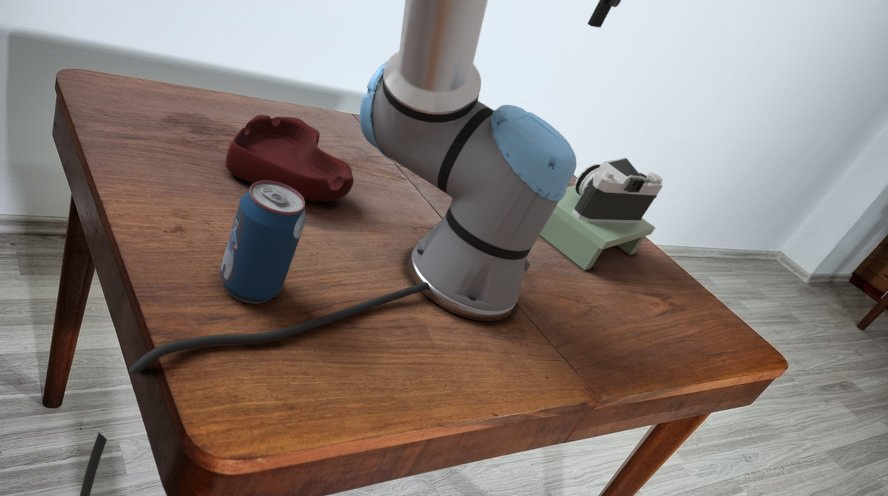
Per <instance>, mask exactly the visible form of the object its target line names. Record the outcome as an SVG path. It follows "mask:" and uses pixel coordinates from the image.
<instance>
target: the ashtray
mask: <svg viewBox="0 0 888 496" xmlns="http://www.w3.org/2000/svg"><path fill="white" fill-rule="evenodd" d="M320 135H321V133H320V130H318V129H316V128H315V127H313V126H311V125H309V124H307V122H305V121H304V120H303V119H301V118H298V117H293V116H275V117H271V116H270V115H269V114H268V115H266V114H259V115H258V114H257V115H255V116H254V117H253V118H251V119H250V120H249V121H248V122H247V123H246V124H245V126H244V127H241V129H240V130H239V131H238V132H237V133H236V134H235V135H234V137H233V139H232V140H231V141H230V144H229V145H228V148H227V152H226V154H225V162H224V163H225V168H226V169H227V171H228V172H229V173H230V174H231V175H232V176H233V178H235V179H237V180H240V181H243V182H249V183H252V184H254V183H255V182H258V181H275V182H279V183H282V184H285V185H287V186H289V187H291V188H293V189H295V190H296V191H297V192H299V193H300V194H301V195H302V197H303V198H304V200H305V201H310V202H315V203H318V204H319V205H323V206H331V205H332V204H333V202H335V201H337V200H340V199H342V198H344V197H345V196H347V195H348V194H349V193H350V191H351V190H352V187H353V185H354V180H355V179H354V176H353V175H354V174H353V171H352V168H351V166H350V164H349V163H347V162H346V161H344V160H342V159H339V158H337V157H335V156H333V155H331V154H329V153H327V152H325V151H324V150H323V149H321V148H320V147H319V142H320Z"/></svg>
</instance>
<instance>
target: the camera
mask: <svg viewBox="0 0 888 496" xmlns="http://www.w3.org/2000/svg"><path fill="white" fill-rule="evenodd" d="M574 186H575V189H576V192H577V193H578V194H579V195H580V196H581V198H580V200H579V201H578V203H577V205H576V206H575V207H574V209H573V211H572V212H573V213H574V214H575V215H576V216H577V217H578V218H580V219H582V220H584V221H586V222H611V223H638V222H639V221H640V220H641V219H642V218H643V217H644V215H645V214H646V213H647V211H648V210H649V208H650V206H651V205H652V203H653V202H654V200H655V199H656V198H657V196H658V194H659V193H660V191H661V189H662V188H663V178H662V177H661V176H660V175H659V174H657V173H654V172H648V174H644V173H642V172H638V170H637V169H636V168H635V167H634V166H633V164H632V163H631V162H630V160H629V159H628V158H627V157H621V158H617V159H611V160H607V161H604V162H603V163H601V164H598V163H594V164H590V165H589V166H587V167H585V168H584V169H583V170H582V171H581V172H580V173H579V174H578V176H577V177H576V180H575V182H574Z"/></svg>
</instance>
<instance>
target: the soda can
mask: <svg viewBox="0 0 888 496" xmlns="http://www.w3.org/2000/svg"><path fill="white" fill-rule="evenodd" d="M305 207H306V200H305V199H304V198H303V197H302V195H301V194H300V193H299V192H297V191H296V190H295V189H293V188H291V187H289V186H287V185H285V184H282V183H279V182H275V181H258V182H255V183H252V184H251V186H250V187H249V190H248V191H247V192H246V193H244V194H243V196H241V197H240V199H239V203H238V207H237V210H236V214H235V216H234V220H233V224H232V227H231V231H230V234H229V238H228V240H227V245H226V247H225V251H224V254H223V257H222V261H221V265H220V268H219V276H220V279H221V282H222V284H223V287H224V289H225V290H226V292H227V293H228V294H229V295H230V296H232V297H233V298H235V299H236V300H239V301H240V302H243V303H247V304H255V305H257V304H263V303H266V302H268V301H270V300H271V299H273V298H274V297H276V296H277V295H279V294H280V292H281V291H282V289H283V287H284V284H285V281H286V278H287V276H288V273H289V270H290V267H291V264H292V261H293V258H294V255H295V253H296V250H297V247H298V244H299V242H300V238H301V237H302V233H303V230H304V227H305V225H306V221H307V216H306V215H307V214H306V211H305Z"/></svg>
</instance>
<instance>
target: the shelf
mask: <svg viewBox="0 0 888 496" xmlns="http://www.w3.org/2000/svg"><path fill="white" fill-rule="evenodd" d="M580 198H581V196H580V195H579V194H578V193H577V192H576V189H575V185H568V186H567V188H566V192H565V195H564V197H563V198H562V199H561V200H560V201H559V202H558V204H557V206H556V207H555V209H554V211H553V213H552V214H551V216H550V218H549V219H548V221H547V223H546V224H545V226H544V228H543V230H542V231H541V233H540V235H539V237H542V238H543V239H544V240H545V241H547V243H549V244H550V245H552V246H553V247H554V248H555V249H557V250H558V251H559V252H560V253H562V254H563V255H565V256H566V257H567V258H568V259H569V260H571V262H573V263H575V264H576V265H577V266H578V267H579V268H581V269H582V270H583V271H587V270H591V268H592V267H593V266H594V264H595V262H596V261H597V259H598V258H599V256H600V255H601V254H602V252H603V250H606V249H609V248H612V247H615V246H617V248H619V249H621V250H622V251H624V253H626V254H627V255H630V256H631V255H634V254H636V253H637V250H638V249H639V248H640V247H641V244H642V243H643V241H644V240H645V239H646V237H647V236H650V235H652V234H653V232H654V231H655V229H656V226H654V225H653V224H652V223H650V222H649V221H647V220H646V219H644V218H643V217H642V219H641V220H640V221H639V222H638V223H611V222H586V221H584V220H582V219H580V218H578V217H577V216H576V215H575V214H574V213H573V212H572V211H573V209H574V207H575V206H576V205H577V203H578V201H579V200H580Z"/></svg>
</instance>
